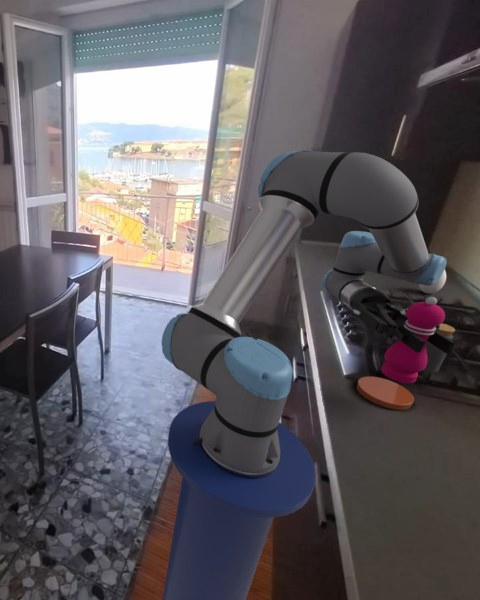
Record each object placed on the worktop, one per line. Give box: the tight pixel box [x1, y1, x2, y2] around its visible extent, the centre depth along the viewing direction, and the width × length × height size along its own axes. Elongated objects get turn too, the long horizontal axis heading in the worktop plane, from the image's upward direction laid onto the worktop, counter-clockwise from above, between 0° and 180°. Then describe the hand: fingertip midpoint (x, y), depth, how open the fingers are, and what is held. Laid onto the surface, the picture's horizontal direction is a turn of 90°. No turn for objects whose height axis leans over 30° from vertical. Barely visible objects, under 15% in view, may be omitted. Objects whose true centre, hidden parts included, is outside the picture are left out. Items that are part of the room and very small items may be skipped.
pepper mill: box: [381, 296, 446, 384], centre depth 79 cm, size 7×7×20 cm
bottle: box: [425, 322, 456, 373], centre depth 93 cm, size 6×6×15 cm
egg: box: [418, 268, 447, 295], centre depth 143 cm, size 7×7×12 cm
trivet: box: [356, 376, 415, 411], centre depth 89 cm, size 11×11×2 cm
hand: (435, 347), depth 73 cm, fingers closed on pepper mill, 5 cm apart
